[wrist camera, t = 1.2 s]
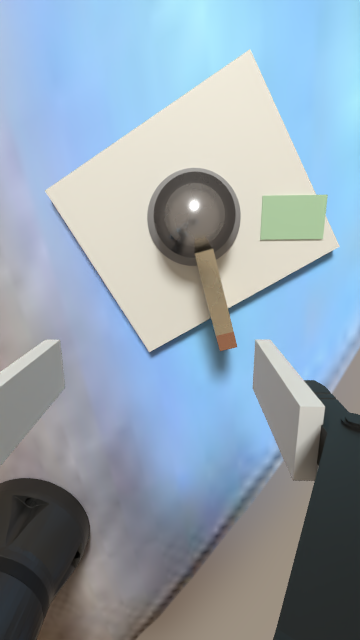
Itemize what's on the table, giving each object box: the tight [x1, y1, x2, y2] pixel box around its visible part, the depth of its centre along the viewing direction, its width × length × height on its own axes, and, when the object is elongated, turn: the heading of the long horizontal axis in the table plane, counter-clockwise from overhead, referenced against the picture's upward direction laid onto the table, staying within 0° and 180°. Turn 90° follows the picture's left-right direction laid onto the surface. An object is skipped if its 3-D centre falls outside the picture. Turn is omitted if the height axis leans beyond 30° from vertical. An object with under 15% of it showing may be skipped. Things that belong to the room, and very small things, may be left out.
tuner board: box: [45, 50, 340, 352], centre depth 30 cm, size 23×19×1 cm
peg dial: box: [154, 172, 237, 351], centre depth 28 cm, size 16×7×4 cm, turn 16°
